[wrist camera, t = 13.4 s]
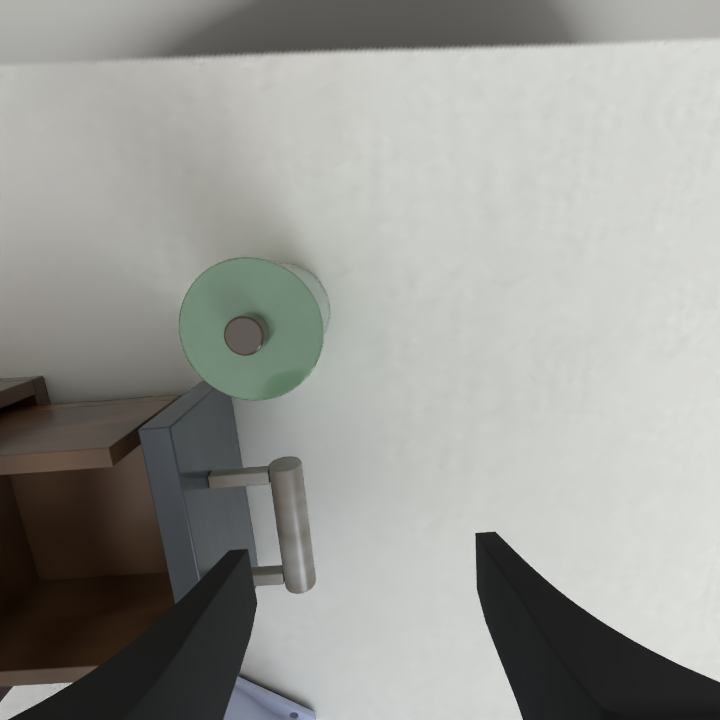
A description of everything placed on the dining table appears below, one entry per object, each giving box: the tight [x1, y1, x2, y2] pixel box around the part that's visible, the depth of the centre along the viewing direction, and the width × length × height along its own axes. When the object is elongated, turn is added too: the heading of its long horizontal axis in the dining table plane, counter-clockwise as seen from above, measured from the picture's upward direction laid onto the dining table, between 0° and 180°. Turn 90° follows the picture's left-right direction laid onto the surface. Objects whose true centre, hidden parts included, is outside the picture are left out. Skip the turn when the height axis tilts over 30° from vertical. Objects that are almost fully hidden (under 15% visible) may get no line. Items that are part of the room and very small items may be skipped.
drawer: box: [0, 380, 316, 687], centre depth 20 cm, size 16×12×7 cm
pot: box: [179, 257, 330, 400], centre depth 18 cm, size 5×5×8 cm
